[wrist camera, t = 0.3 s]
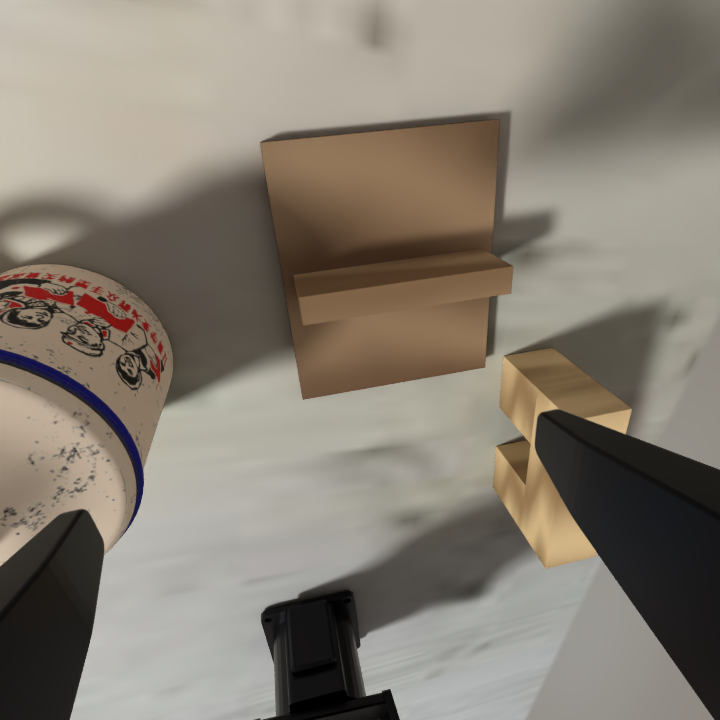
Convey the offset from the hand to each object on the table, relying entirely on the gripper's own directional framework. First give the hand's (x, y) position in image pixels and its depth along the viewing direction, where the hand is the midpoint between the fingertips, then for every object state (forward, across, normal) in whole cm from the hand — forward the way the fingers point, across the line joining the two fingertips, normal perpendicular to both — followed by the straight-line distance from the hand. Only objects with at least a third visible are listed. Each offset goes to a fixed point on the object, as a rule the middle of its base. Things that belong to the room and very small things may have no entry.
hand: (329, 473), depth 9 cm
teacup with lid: (+14, +11, +1) cm, 18 cm away
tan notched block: (+14, -13, +12) cm, 22 cm away
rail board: (+14, -5, 0) cm, 15 cm away
